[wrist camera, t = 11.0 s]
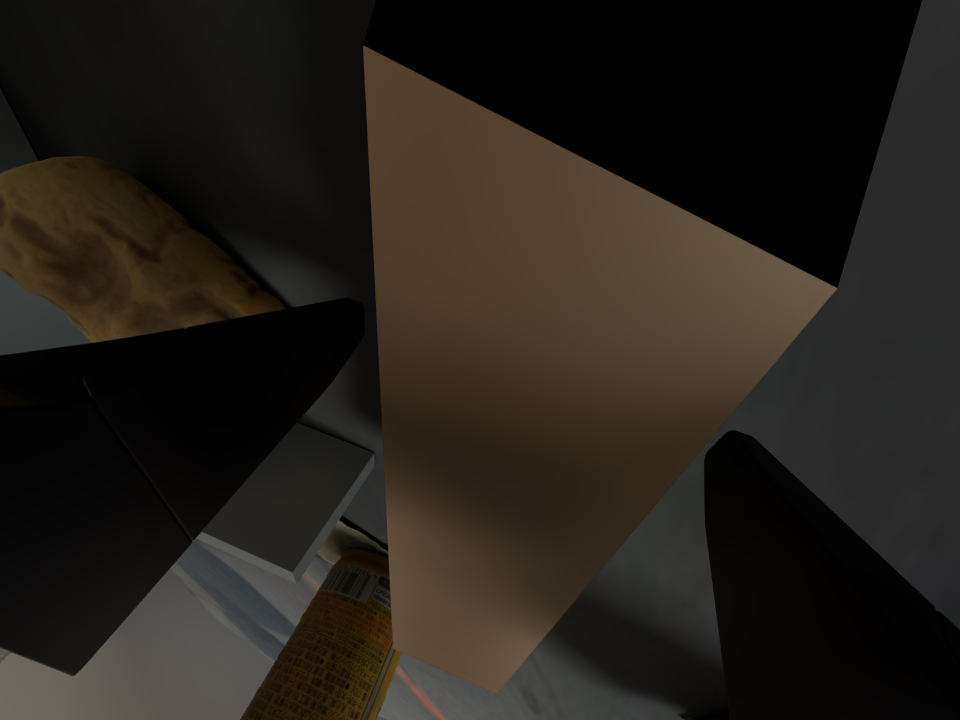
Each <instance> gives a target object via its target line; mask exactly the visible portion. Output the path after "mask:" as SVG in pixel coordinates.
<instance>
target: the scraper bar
mask: <svg viewBox="0 0 960 720" xmlns="http://www.w3.org/2000/svg"><path fill="white" fill-rule="evenodd" d="M548 1H549V0H376V3H375V7H374V10H373V14H372V17H371V20H370V24H369V27H368V31H367V34H366V37H365V41H364V44H363V53H364V73H365V93H366V113H367V133H368V153H369V173H370V193H371V213H372V233H373V253H374V273H375V294H376V314H377V334H378V354H379V374H380V394H381V414H382V434H383V454H384V474H385V494H386V514H387V534H388V554H389V574H390V594H391V614H392V634H393V649H395V650H397V651H400V652H402V653H404V654H406V655H409V656H411V657H413V658H416V659H418V660H420V661H422V662H425V663H427V664H429V665H431V666H434V667H436V668H438V669H440V670H443V671H445V672H447V673H450V674H452V675H454V676H456V677H459V678H461V679H463V680H465V681H468V682H470V683H472V684H475V685H477V686H479V687H481V688H484V689H486V690H488V691H490V692H493V693H495V694H497V693H498V692H499V691H500V689H501V688H502V687H503V686H504V685H505V683H506V682H507V681H508V680H509V679H510V678H511V676H512V675H513V674H514V673H515V672H516V670H517V669H518V668H519V667H520V666H521V664H522V663H523V662H524V661H525V660H526V658H527V657H528V656H529V655H530V654H531V653H532V651H533V650H534V649H535V648H536V647H537V645H538V644H539V643H540V642H541V641H542V639H543V638H544V637H545V636H546V635H547V633H548V632H549V631H550V630H551V629H552V628H553V626H554V625H555V624H556V623H557V622H558V620H559V619H560V618H561V617H562V616H563V614H564V613H565V612H566V611H567V610H568V608H569V607H570V606H571V605H572V604H573V602H574V601H575V600H576V599H577V598H578V597H579V595H580V594H581V593H582V592H583V591H584V589H585V588H586V587H587V586H588V585H589V583H590V582H591V581H592V580H593V579H594V577H595V576H596V575H597V574H598V573H599V572H600V570H601V569H602V568H603V567H604V566H605V564H606V563H607V562H608V561H609V560H610V558H611V557H612V556H613V555H614V554H615V552H616V551H617V550H618V549H619V548H620V547H621V545H622V544H623V543H624V542H625V541H626V539H627V538H628V537H629V536H630V535H631V533H632V532H633V531H634V530H635V529H636V527H637V526H638V525H639V524H640V523H641V521H642V520H643V519H644V518H645V517H646V516H647V514H648V513H649V512H650V511H651V510H652V508H653V507H654V506H655V505H656V504H657V502H658V501H659V500H660V499H661V498H662V496H663V495H664V494H665V493H666V492H667V491H668V489H669V488H670V487H671V486H672V485H673V483H674V482H675V481H676V480H677V479H678V477H679V476H680V475H681V474H682V473H683V471H684V470H685V469H686V468H687V467H688V466H689V464H690V463H691V462H692V461H693V460H694V458H695V457H696V456H697V455H698V454H699V452H700V451H701V450H702V449H703V448H704V446H705V445H706V444H707V443H708V442H709V440H710V439H711V438H712V437H713V436H714V435H715V433H716V432H717V431H718V430H719V429H720V427H721V426H722V425H723V424H724V423H725V421H726V420H727V419H728V418H729V417H730V415H731V414H732V413H733V412H734V411H735V410H736V408H737V407H738V406H739V405H740V404H741V402H742V401H743V400H744V399H745V398H746V396H747V395H748V394H749V393H750V392H751V390H752V389H753V388H754V387H755V386H756V385H757V383H758V382H759V381H760V380H761V379H762V377H763V376H764V375H765V374H766V373H767V371H768V370H769V369H770V368H771V367H772V365H773V364H774V363H775V362H776V361H777V359H778V358H779V357H780V356H781V355H782V354H783V352H784V351H785V350H786V349H787V348H788V346H789V345H790V344H791V343H792V342H793V340H794V339H795V338H796V337H797V336H798V334H799V333H800V332H801V331H802V330H803V329H804V327H805V326H806V325H807V324H808V323H809V321H810V320H811V319H812V318H813V317H814V315H815V314H816V313H817V312H818V311H819V309H820V308H821V307H822V306H823V305H824V304H825V302H826V301H827V300H828V299H829V298H830V296H831V295H832V294H833V293H834V292H835V290H836V289H837V287H838V284H839V281H840V277H841V274H842V271H843V267H844V264H845V260H846V257H847V254H848V250H849V247H850V243H851V240H852V237H853V233H854V230H855V226H856V223H857V220H858V216H859V213H860V209H861V206H862V203H863V199H864V196H865V192H866V189H867V186H868V182H869V179H870V175H871V172H872V169H873V165H874V162H875V159H876V155H877V152H878V148H879V145H880V142H881V138H882V135H883V131H884V128H885V125H886V121H887V118H888V114H889V111H890V108H891V104H892V101H893V97H894V94H895V91H896V87H897V84H898V80H899V77H900V74H901V70H902V67H903V64H904V60H905V57H906V53H907V50H908V47H909V43H910V40H911V36H912V33H913V30H914V26H915V23H916V19H917V16H918V13H919V9H920V6H921V2H922V0H686V1H695V2H703V3H711V4H719V5H727V6H735V7H743V8H744V10H743V13H742V15H741V17H740V20H739V22H738V24H737V27H736V29H735V31H734V34H733V36H732V38H731V41H730V43H729V45H728V48H727V50H726V52H725V55H724V57H723V59H722V62H721V64H720V66H719V69H718V71H717V73H716V76H715V78H714V80H713V83H712V85H711V87H710V90H709V92H708V94H707V97H706V99H705V101H704V104H703V106H702V108H701V111H700V113H699V115H698V118H697V120H696V122H695V125H694V127H693V129H692V132H691V134H690V136H689V139H688V141H687V143H686V146H685V148H684V150H683V152H682V155H681V157H680V159H679V162H678V164H677V166H676V169H675V171H674V173H673V176H672V178H671V180H670V183H669V185H668V187H667V190H666V192H665V194H664V197H663V199H662V198H660V197H658V196H656V195H654V194H652V193H650V192H648V191H646V190H644V189H642V188H640V187H639V186H637V185H635V184H633V183H631V182H629V181H627V180H625V179H623V178H621V177H619V176H617V175H615V174H613V173H611V172H609V171H607V170H605V169H603V168H601V167H599V166H598V165H596V164H594V163H592V162H590V161H588V160H586V159H584V158H582V157H580V156H578V155H576V154H574V153H572V152H570V151H568V150H566V149H564V148H562V147H560V146H558V145H557V144H555V143H553V142H551V141H549V140H547V139H545V138H543V137H541V136H539V135H537V134H535V133H533V132H531V131H529V130H527V129H525V127H526V122H527V116H528V111H529V105H530V100H531V94H532V89H533V84H534V78H535V73H536V67H537V62H538V56H539V51H540V45H541V40H542V34H543V29H544V23H545V18H546V12H547V7H548Z"/></svg>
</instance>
